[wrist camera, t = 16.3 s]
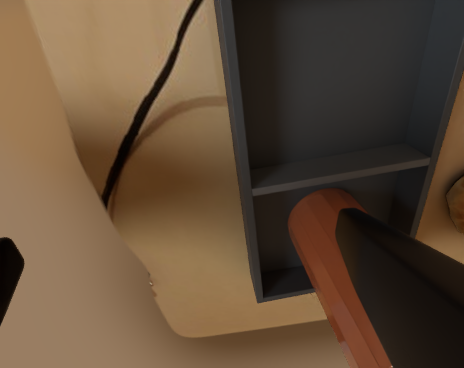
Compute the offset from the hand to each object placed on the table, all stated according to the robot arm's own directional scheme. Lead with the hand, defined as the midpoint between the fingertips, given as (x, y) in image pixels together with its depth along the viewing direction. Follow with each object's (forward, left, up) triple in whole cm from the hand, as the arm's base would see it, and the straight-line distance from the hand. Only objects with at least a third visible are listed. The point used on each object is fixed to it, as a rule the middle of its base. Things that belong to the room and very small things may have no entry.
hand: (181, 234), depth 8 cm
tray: (+10, -6, -13) cm, 17 cm away
